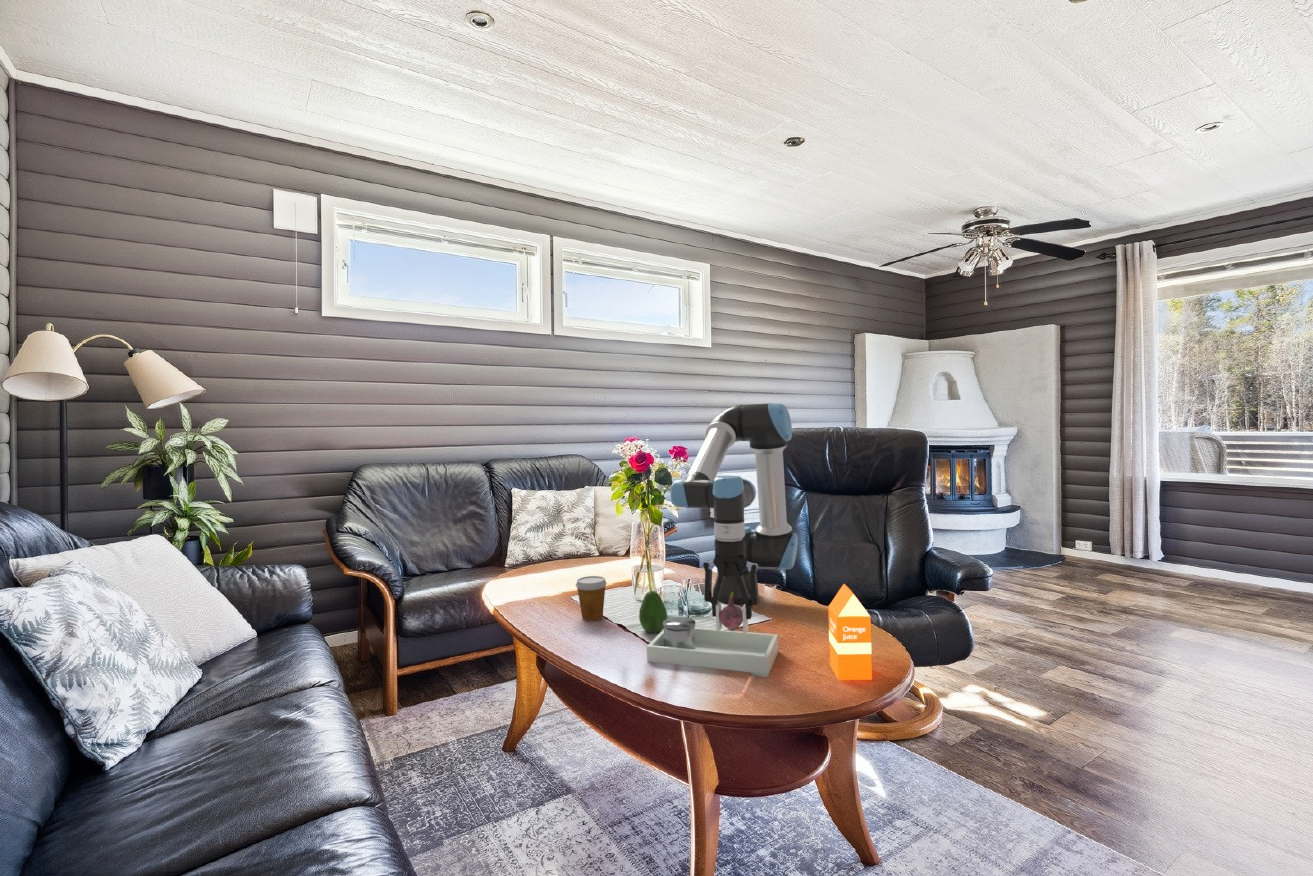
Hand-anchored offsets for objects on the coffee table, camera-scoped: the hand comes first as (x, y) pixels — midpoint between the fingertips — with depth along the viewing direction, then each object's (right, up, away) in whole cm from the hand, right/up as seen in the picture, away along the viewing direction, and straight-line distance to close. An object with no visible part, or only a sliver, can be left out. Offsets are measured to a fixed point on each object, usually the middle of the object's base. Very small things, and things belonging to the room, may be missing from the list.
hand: (732, 630), depth 155 cm
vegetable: (0, -1, 0) cm, 1 cm away
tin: (-13, -7, +5) cm, 16 cm away
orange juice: (+27, -7, -9) cm, 29 cm away
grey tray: (-4, -8, +2) cm, 9 cm away
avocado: (-20, -8, +21) cm, 30 cm away
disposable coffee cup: (-39, -8, +37) cm, 54 cm away
